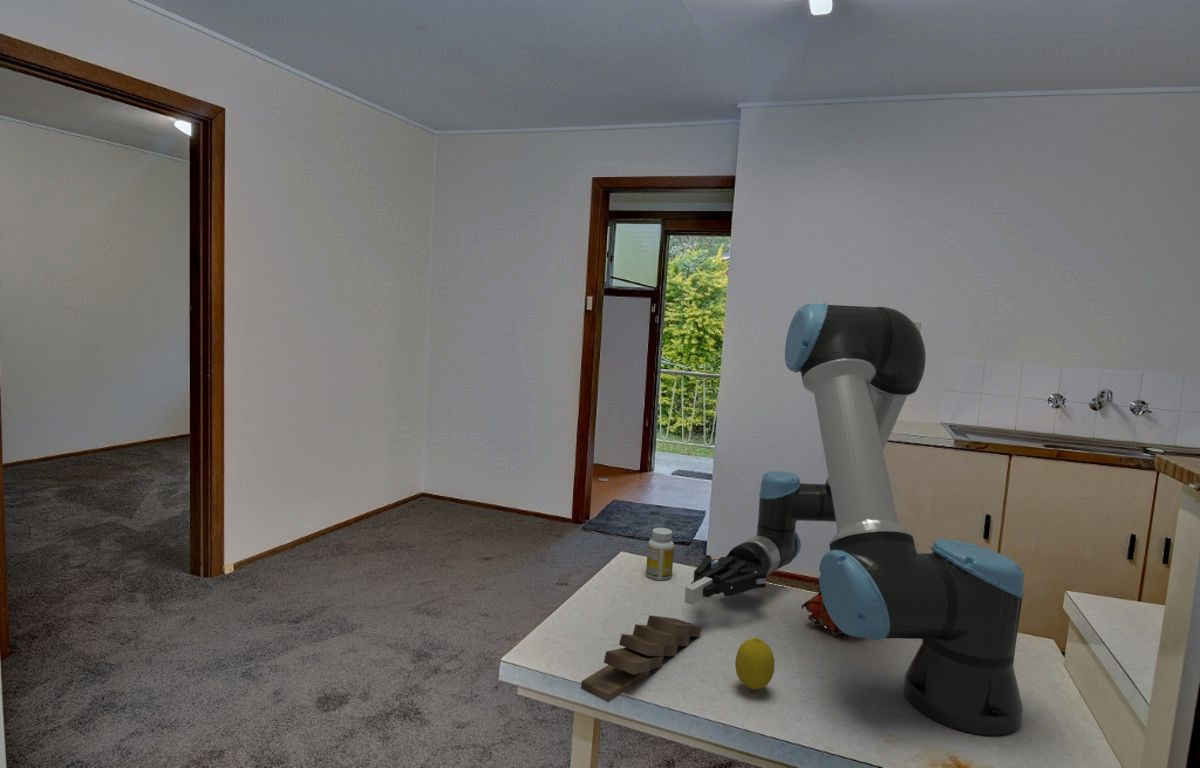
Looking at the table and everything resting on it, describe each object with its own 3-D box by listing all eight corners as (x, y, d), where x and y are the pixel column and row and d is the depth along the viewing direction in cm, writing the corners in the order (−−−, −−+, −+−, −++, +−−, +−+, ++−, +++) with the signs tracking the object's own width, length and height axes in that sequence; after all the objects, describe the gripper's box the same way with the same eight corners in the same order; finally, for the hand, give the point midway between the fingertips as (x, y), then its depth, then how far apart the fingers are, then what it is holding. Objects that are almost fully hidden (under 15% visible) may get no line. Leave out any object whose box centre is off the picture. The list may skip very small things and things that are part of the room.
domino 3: (649, 667, 104) (609, 694, 96) (649, 677, 104) (608, 705, 96) (622, 655, 107) (581, 681, 99) (622, 665, 107) (580, 691, 100)
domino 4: (689, 636, 114) (663, 634, 106) (687, 646, 113) (660, 644, 105) (663, 627, 117) (635, 624, 109) (661, 636, 116) (632, 634, 108)
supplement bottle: (646, 580, 140) (649, 534, 139) (645, 569, 145) (648, 525, 144) (672, 581, 140) (676, 535, 139) (671, 571, 145) (674, 527, 144)
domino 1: (677, 645, 110) (650, 644, 102) (675, 656, 110) (647, 655, 102) (650, 635, 113) (621, 634, 105) (648, 645, 113) (618, 644, 105)
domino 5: (701, 627, 117) (676, 624, 109) (699, 637, 117) (673, 634, 109) (676, 618, 120) (649, 615, 112) (673, 627, 120) (646, 625, 112)
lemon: (772, 703, 98) (777, 649, 97) (733, 697, 99) (737, 644, 98) (771, 683, 104) (775, 632, 103) (733, 677, 105) (737, 626, 104)
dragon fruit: (876, 650, 119) (803, 644, 124) (874, 606, 125) (805, 602, 130) (874, 623, 114) (798, 618, 118) (872, 578, 120) (800, 575, 125)
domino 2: (663, 656, 106) (636, 663, 98) (661, 666, 106) (634, 674, 98) (635, 645, 109) (606, 651, 100) (632, 655, 109) (603, 662, 100)
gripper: (782, 589, 131) (721, 630, 113) (721, 569, 139) (655, 605, 121) (786, 550, 130) (725, 586, 112) (724, 533, 138) (657, 563, 120)
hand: (688, 596), depth 116 cm, fingers closed
